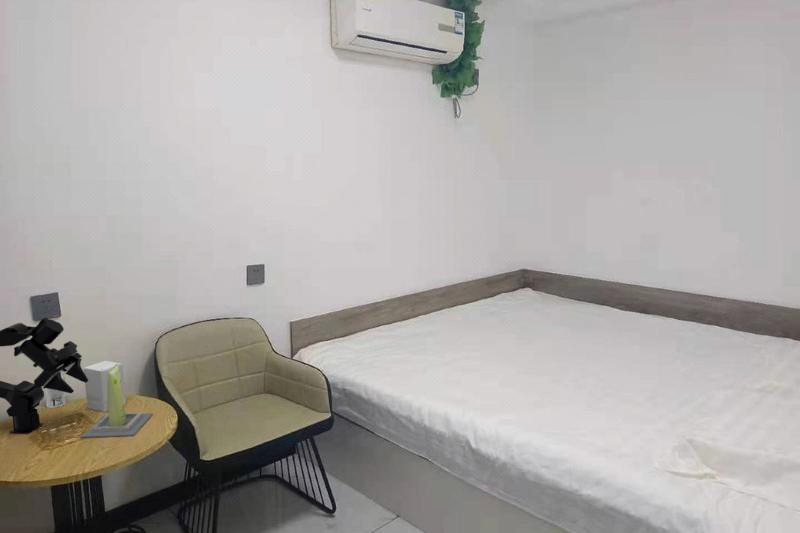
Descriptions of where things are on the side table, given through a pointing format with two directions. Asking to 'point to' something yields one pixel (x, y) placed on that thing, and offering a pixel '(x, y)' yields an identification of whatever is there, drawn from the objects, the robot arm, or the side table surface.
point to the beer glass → (55, 395)
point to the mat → (119, 434)
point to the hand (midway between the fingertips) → (80, 386)
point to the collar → (103, 429)
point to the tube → (115, 398)
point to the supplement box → (100, 384)
